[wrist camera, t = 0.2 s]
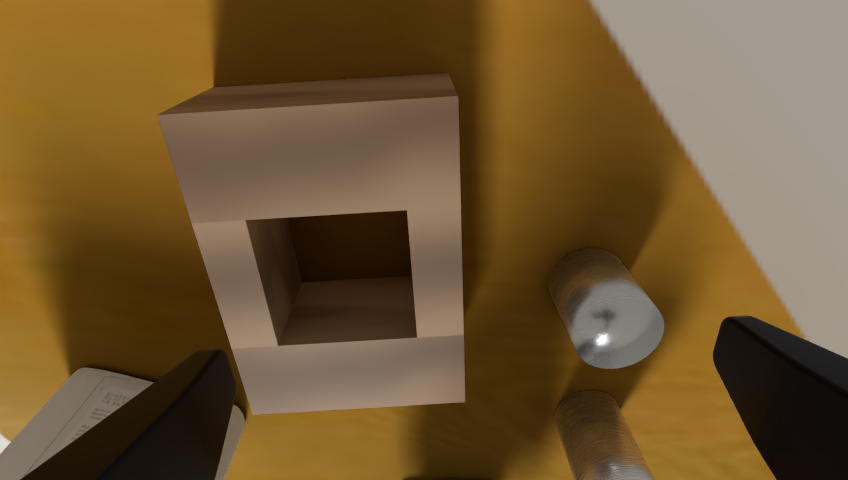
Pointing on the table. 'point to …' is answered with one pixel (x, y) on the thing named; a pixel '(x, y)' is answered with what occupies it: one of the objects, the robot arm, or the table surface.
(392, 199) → the hole board
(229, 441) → the white rounded printed block
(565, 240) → the table surface
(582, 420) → the silver upright cylinder
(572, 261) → the short pin
